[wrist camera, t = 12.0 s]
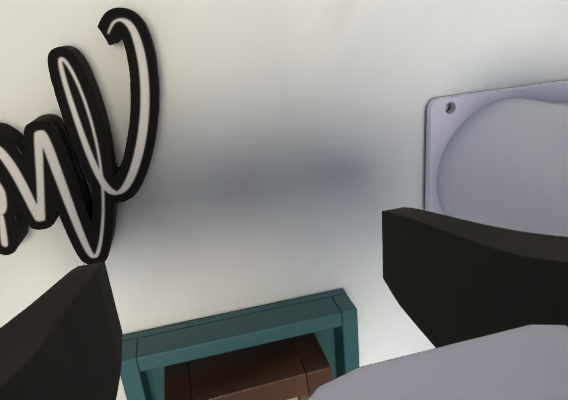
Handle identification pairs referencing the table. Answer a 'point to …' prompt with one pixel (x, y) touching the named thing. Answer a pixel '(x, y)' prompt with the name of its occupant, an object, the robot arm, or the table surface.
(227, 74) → the table surface
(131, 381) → the holder
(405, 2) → the table surface
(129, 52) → the nameplate
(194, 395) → the frame
